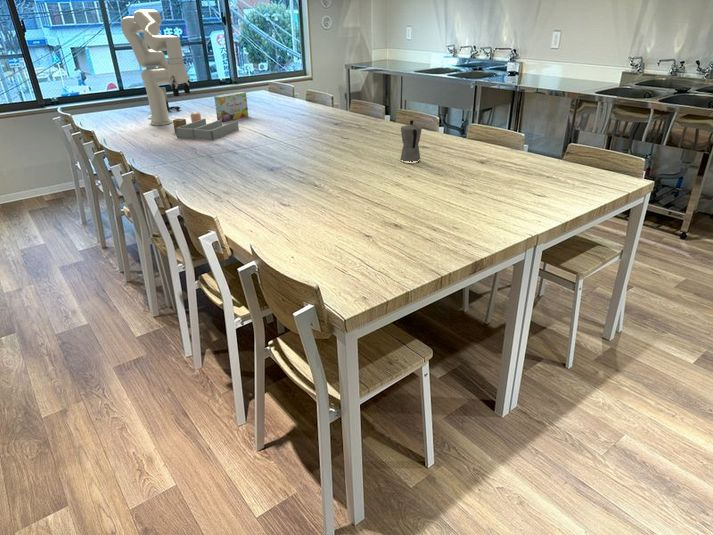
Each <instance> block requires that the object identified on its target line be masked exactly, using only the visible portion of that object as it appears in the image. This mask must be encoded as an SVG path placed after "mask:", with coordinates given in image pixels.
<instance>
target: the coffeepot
mask: <svg viewBox="0 0 713 535" xmlns="http://www.w3.org/2000/svg"><path fill="white" fill-rule="evenodd" d="M422 129H423V126H421V125H417V124H414V120H412V119H410V120H409V124H406V125H402V126H401V127H400V132H401V141H402V143H403V145H402V148H401V149H402V150H401V154H400V160H403V161H409V162H410V161H411V162H413V161H418V160H419V159H420V160H421V153H420V146H419V143H420V140H421V135H422ZM400 160H399V161H400Z"/></svg>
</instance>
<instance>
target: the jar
mask: <svg viewBox="0 0 713 535" xmlns="http://www.w3.org/2000/svg"><path fill="white" fill-rule="evenodd" d="M201 119H202V116H201V113H200V112H199V111H196V112H191V113H190V121H191V123H192V122H195V121H198V120H201Z"/></svg>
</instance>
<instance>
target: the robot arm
mask: <svg viewBox="0 0 713 535" xmlns="http://www.w3.org/2000/svg"><path fill="white" fill-rule="evenodd" d="M161 25H162V16H161V13H160V12H159V11H157V10H156V9H138V10H136V11H134V13H133V15H132V16H131V15H130V16H125V17H123V18H122V19H121V20H120V27H121V28H120V29H121V31H122V33H123V35H124V37H125V38H126V40H127V42H128V43H129V45H130V46H131V48H132V51H133V54H134V55H135V58H136V61H137V62H138V64H139V67H142V68H144V69H143V70H142V71H141V79H142V82H143V84H144V87H145V91H146V96H147V100H148V103H149V104H148V105H149V110H150V114H151V115H149V116H148V118H147V119H148V120H150V125H152V126H165V125H170V124H173V120H172V119H170V117H169V116H170V115H169V110H168V111H167V106H166V101H165V96H164V92H163V91H162V89H161V88H160V87H161V85H162V86H163V85H169V86H170V87H171V89H172V93H173V96H174V97H180V91H179V88H178V86H179V85H181V84H183V91H184V94H190V93H191V90H190V79H191V77H190V76H189V75H188V72H187V68H186V66H185V63H184V62H185V61H184V57H183V52H182V45H181V40H180V36H178V35H171V34H166V35H165V34H163V35H162V34H161V35H159V34H160V32H161V27H160V26H161ZM138 33H143V37H142V36H140V34H138ZM165 51H166V54H167V57H166V55H165V53H164V52H165ZM145 68H146V69H145Z"/></svg>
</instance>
